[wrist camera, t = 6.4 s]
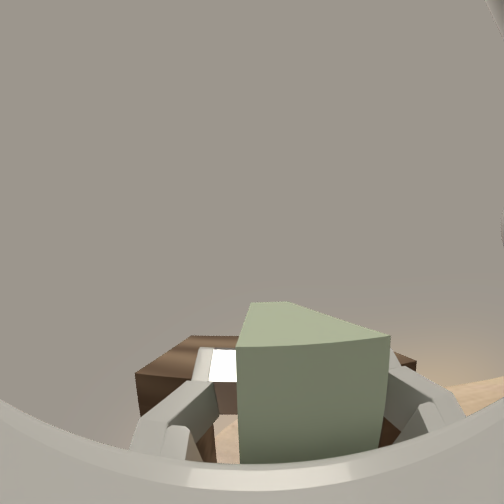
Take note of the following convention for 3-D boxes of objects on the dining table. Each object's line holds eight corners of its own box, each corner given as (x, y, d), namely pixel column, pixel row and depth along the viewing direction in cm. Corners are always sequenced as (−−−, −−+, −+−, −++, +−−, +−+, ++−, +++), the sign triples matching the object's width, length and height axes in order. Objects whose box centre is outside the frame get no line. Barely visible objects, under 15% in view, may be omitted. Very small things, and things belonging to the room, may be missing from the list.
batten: (251, 339, 25) (250, 302, 25) (289, 338, 25) (288, 301, 25) (240, 474, 5) (235, 347, 6) (375, 457, 5) (390, 335, 5)
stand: (208, 504, 23) (191, 335, 27) (329, 500, 23) (345, 330, 27) (190, 576, 10) (134, 372, 13) (354, 568, 9) (416, 360, 13)
